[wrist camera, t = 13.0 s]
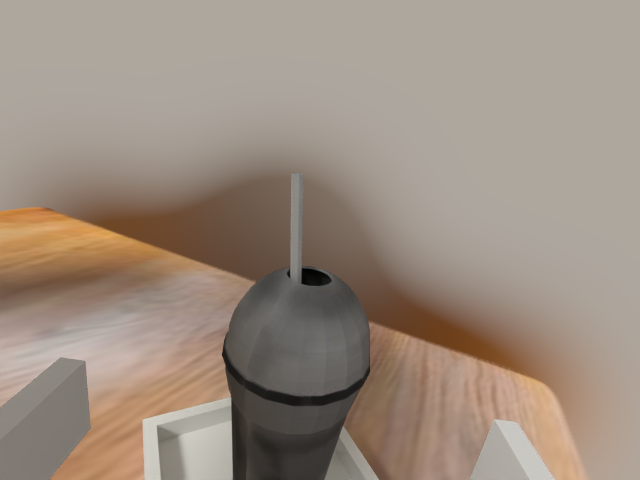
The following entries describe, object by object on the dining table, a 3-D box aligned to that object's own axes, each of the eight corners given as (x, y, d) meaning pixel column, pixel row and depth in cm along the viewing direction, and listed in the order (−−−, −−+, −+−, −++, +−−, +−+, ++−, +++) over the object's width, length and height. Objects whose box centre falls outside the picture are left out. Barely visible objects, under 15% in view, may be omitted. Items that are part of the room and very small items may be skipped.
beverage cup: (351, 561, 18) (453, 204, 12) (211, 609, 15) (248, 184, 9) (311, 442, 24) (364, 172, 18) (208, 462, 22) (228, 155, 16)
